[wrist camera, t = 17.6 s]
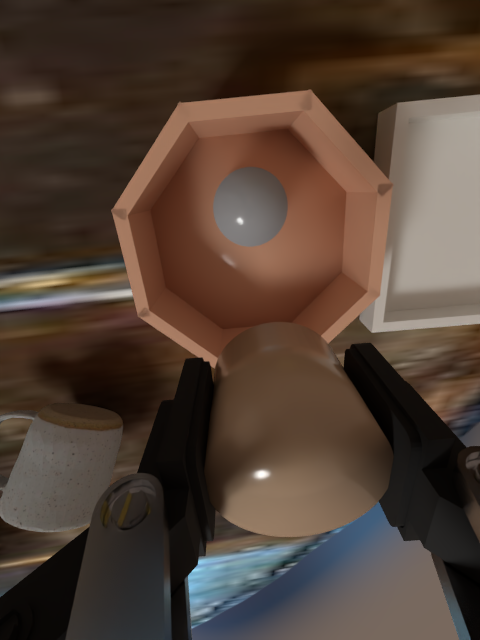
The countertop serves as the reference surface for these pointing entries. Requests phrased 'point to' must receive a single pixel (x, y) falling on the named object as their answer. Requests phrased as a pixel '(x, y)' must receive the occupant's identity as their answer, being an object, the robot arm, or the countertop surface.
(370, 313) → the parts tray
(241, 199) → the slate pebble
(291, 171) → the bowl
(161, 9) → the countertop surface
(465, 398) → the countertop surface
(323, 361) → the tan pebble
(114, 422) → the ceramic mug
